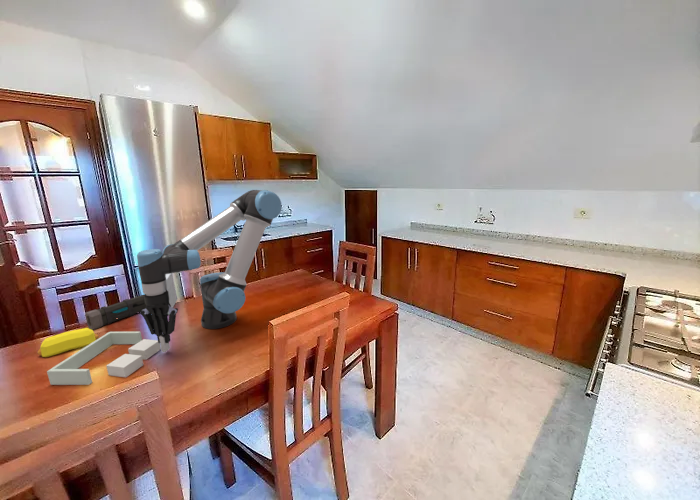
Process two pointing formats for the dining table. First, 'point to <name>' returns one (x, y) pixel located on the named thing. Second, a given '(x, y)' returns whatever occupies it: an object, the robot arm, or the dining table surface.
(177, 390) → the dining table surface
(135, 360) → the tile
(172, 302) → the skincare box
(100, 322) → the black handheld tool
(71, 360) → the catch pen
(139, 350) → the tile
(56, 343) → the yellow bevelled bar
